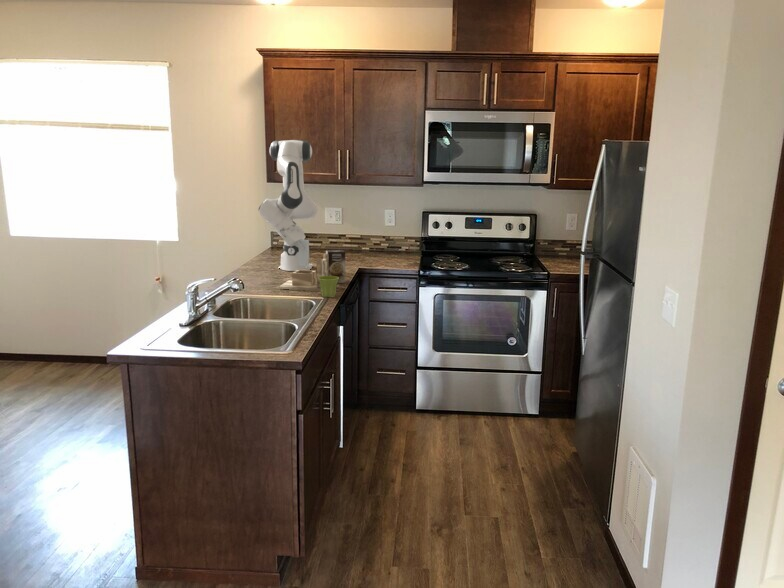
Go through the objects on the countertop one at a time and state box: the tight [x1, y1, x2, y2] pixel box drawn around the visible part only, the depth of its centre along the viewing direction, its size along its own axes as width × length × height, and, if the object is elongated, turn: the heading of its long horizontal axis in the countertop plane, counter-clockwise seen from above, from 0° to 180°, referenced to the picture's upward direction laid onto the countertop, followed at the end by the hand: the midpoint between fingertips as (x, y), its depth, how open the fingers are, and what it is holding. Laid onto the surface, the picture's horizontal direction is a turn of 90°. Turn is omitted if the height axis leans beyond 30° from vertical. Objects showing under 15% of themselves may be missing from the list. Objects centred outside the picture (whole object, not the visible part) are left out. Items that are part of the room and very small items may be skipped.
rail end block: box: [299, 239, 310, 266], centre depth 297 cm, size 4×4×12 cm
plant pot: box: [318, 276, 339, 298], centre depth 281 cm, size 9×9×9 cm
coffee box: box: [325, 249, 346, 284], centre depth 312 cm, size 9×6×16 cm
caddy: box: [279, 253, 328, 292], centre depth 299 cm, size 16×20×16 cm
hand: (305, 248), depth 296 cm, fingers closed on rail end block, 4 cm apart
